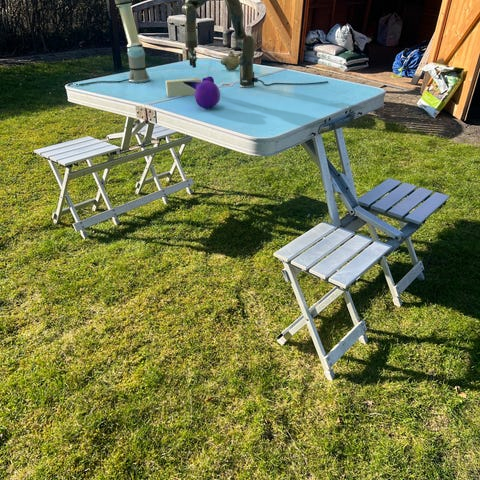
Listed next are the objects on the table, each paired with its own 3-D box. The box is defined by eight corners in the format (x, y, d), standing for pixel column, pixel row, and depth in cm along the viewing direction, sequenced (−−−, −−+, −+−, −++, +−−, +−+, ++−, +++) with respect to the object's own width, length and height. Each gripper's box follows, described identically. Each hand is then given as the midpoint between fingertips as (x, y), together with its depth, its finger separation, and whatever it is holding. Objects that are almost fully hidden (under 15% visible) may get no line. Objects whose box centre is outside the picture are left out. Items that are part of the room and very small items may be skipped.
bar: (168, 96, 293) (166, 82, 288) (166, 95, 297) (165, 80, 292) (202, 93, 298) (201, 79, 294) (200, 92, 303) (199, 77, 298)
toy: (207, 99, 283) (220, 114, 262) (180, 94, 275) (191, 110, 255) (213, 74, 275) (226, 87, 254) (185, 68, 267) (197, 82, 247)
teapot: (224, 72, 363) (223, 52, 355) (217, 70, 371) (216, 51, 364) (246, 69, 372) (246, 50, 364) (239, 67, 380) (239, 48, 373)
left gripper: (199, 7, 323) (201, 39, 334) (191, 5, 344) (193, 35, 354) (189, 7, 321) (191, 39, 332) (182, 5, 342) (184, 36, 352)
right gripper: (199, 40, 278) (201, 67, 286) (194, 37, 289) (196, 64, 298) (187, 40, 276) (189, 68, 284) (183, 38, 288) (185, 65, 296)
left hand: (192, 37), depth 343 cm, fingers open, 13 cm apart
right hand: (192, 66), depth 291 cm, fingers open, 8 cm apart
